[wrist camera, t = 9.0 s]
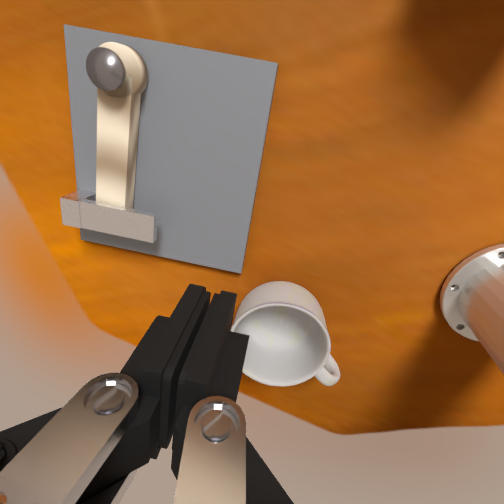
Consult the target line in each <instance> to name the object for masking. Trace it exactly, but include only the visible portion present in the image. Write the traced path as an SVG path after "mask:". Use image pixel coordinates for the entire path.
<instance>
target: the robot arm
mask: <svg viewBox="0 0 504 504" xmlns="http://www.w3.org/2000/svg"><path fill="white" fill-rule="evenodd" d="M210 295H211V293H210V292H207V291H206V287H203V286H199V285H194V284H189V286H188V288H187V289H186V291H185V293H184V294H183V296H182V298H181V299H180V301H179V303H178V305H177V306H176V308H175V310H174V311H173V313H172V315H171V316H170V318H169V317H164V316H160V315H159V316H157V317H156V318H155V320H154V321H153V323H152V324H151V326H150V327H149V329H148V330H147V332H146V333H145V335H144V337H143V338H142V340H141V341H140V343H139V344H138V346H137V347H136V349H135V350H134V352H133V353H132V355H131V357H130V358H129V360H128V361H127V363H126V364H125V366H124V367H123V369H122V370H121V372H120V373H107V374H103V375H100V376H97V377H95V378H93V379H91V380H90V381H89V382H88V383H86V384H85V385H84V386H83V387H82V388H81V389H80V390H79V391H78V392H77V393H76V395H74V396H73V398H71V399H70V400H69V402H68V403H67V404H66V405H65V406H64V407H62V408H59V409H57V410H54V411H52V412H49V413H47V414H44V415H42V416H39V417H37V418H34V419H32V420H29V421H26V422H24V423H21V424H19V425H16V426H14V427H11V428H9V429H6V430H3V431H1V432H0V504H119V502H120V501H121V499H122V497H123V496H124V494H125V492H126V490H127V489H128V487H129V485H130V484H131V482H132V480H133V479H134V476H135V474H136V472H137V469H138V468H140V467H141V466H143V465H145V464H147V463H148V462H149V460H150V458H153V459H157V457H158V454H159V452H160V449H161V448H165V449H167V447H168V445H169V443H170V441H171V438H172V435H173V443H172V450H173V451H172V464H171V469H172V471H173V473H174V475H175V477H176V479H177V486H176V492H175V498H174V503H173V504H294V503H293V502H292V501H291V499H290V498H289V496H288V495H287V494H286V492H285V491H284V489H283V488H282V486H281V485H280V484H279V482H278V481H277V479H276V478H275V477H274V475H273V474H272V473H271V471H270V470H269V468H268V467H267V465H266V464H265V463H264V461H263V460H262V458H261V457H260V456H259V454H258V453H257V451H256V450H255V448H254V447H253V446H252V444H251V443H250V441H249V440H248V439H247V437H246V421H245V415H244V413H243V411H242V409H241V408H240V406H239V405H237V404H236V399H237V394H238V390H239V385H240V380H241V375H242V370H243V365H244V361H245V356H246V351H247V346H248V341H249V336H250V335H246V334H241V333H237V332H232V331H231V326H232V320H233V314H234V308H235V303H236V297H237V294H236V293H231V292H227V291H221V293H220V294H216V293H215V294H214V296H213V298H212V301H211V303H210ZM209 303H210V305H209ZM440 308H441V312H442V314H443V316H444V318H445V320H446V321H447V322H448V324H449V326H450V327H451V328H452V329H453V330H454V331H455V332H457V333H459V334H460V335H462V336H463V337H466V338H468V339H471V340H474V341H478V342H480V343H481V345H482V346H483V347H484V349H485V350H486V351H487V353H488V354H489V355H490V357H491V358H492V359H493V361H494V362H495V364H496V365H497V366H498V368H499V369H500V370H501V372H502V373H503V374H504V244H498V245H495V246H491V247H488V248H485V249H483V250H481V251H478V252H476V253H474V254H473V255H471V256H469V257H468V258H466V259H464V260H463V261H462V262H461V263H460V264H459V265H457V266H456V267H455V268H454V269H453V271H452V272H451V273H450V274H449V275H448V277H447V279H446V280H445V282H444V284H443V287H442V290H441V293H440Z"/></svg>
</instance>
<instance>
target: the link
mask: <svg viewBox="0 0 504 504" xmlns="http://www.w3.org/2000/svg"><path fill="white" fill-rule="evenodd" d="M86 71H87V74H88V76H89V78H90V80H91V81H92V83H93V84H94V85H95V86H96V87H98V88H97V159H96V201H97V202H102V203H107V204H112V205H117V206H121V207H126V208H131V209H133V201H134V186H135V172H136V158H137V143H138V129H139V115H140V100H141V94H142V93H143V92H144V90H145V88H146V86H147V83H148V69H147V66H146V63H145V61H144V59H143V58H142V56H141V55H140V54H139V53H138V52H137V51H136V50H135V49H133V48H131V47H129V46H126V45H123V44H119V43H116V42H106V43H103V44H101V45H100V46H99V47H97V48H94V49H93V50H91V51H90V53H89V54H88V56H87V59H86Z"/></svg>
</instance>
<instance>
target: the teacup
mask: <svg viewBox="0 0 504 504" xmlns="http://www.w3.org/2000/svg"><path fill="white" fill-rule="evenodd" d="M231 331H232V332H237V333H241V334H246V335H250V336H249V341H248V346H247V351H246V356H245V361H244V365H243V370H242V372H243V373H244V374H245V375H247V376H248V377H250V378H251V379H253V380H256V381H258V382H260V383H263V384H266V385H270V386H292V385H296V384H300V383H302V382H304V381H307V380H308V379H311V378H312V377H314V376H315V377H316V378H317V379H318V380H319V381H320V382H321V383H322V384H324V385H326V386H332V385H334V384H335V383H337V382H338V380H339V378H340V370H339V367H338V365H337V363H336V362H335V360H334V359H333V357H332V356H331V355H330V350H331V341H330V337H329V334H328V331H327V327H326V322H325V318H324V315H323V311H322V309H321V307H320V305H319V303H318V301H317V300H316V298H315V297H314V296H313V295H312V294H311V293H310V292H309V291H308V290H306V289H305V288H303V287H301V286H299V285H297V284H294V283H291V282H286V281H273V282H268V283H265V284H262V285H260V286H258V287H256V288H254V289H253V290H252V291H250V292H249V293H248V294H247V295H246V297H245V298H244V299H243V301H242V302H241V304H240V306H239V309H238V311H237V314H236V317H235V320H234V324H233V326H232V328H231Z"/></svg>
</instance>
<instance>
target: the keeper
mask: <svg viewBox="0 0 504 504" xmlns="http://www.w3.org/2000/svg"><path fill="white" fill-rule="evenodd" d="M60 202H61V212H62V221H63V225H68V226H72V227H77V228H84V229H89V230H94V231H98V232H103V233H108V234H113V235H117V236H122V237H127V238H132V239H136V240H141V241H146V242H151V243H154V242H155V241H156V240H157V214H155V213H151V212H146V211H141V210H136V209H131V208H126V207H121V206H117V205H112V204H107V203H102V202H97V201H96V192H94V191H89V190H84V189H80V190H77V191H75V192H73V193H70V194H68V195H65V196H63V197H61V198H60Z"/></svg>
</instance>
